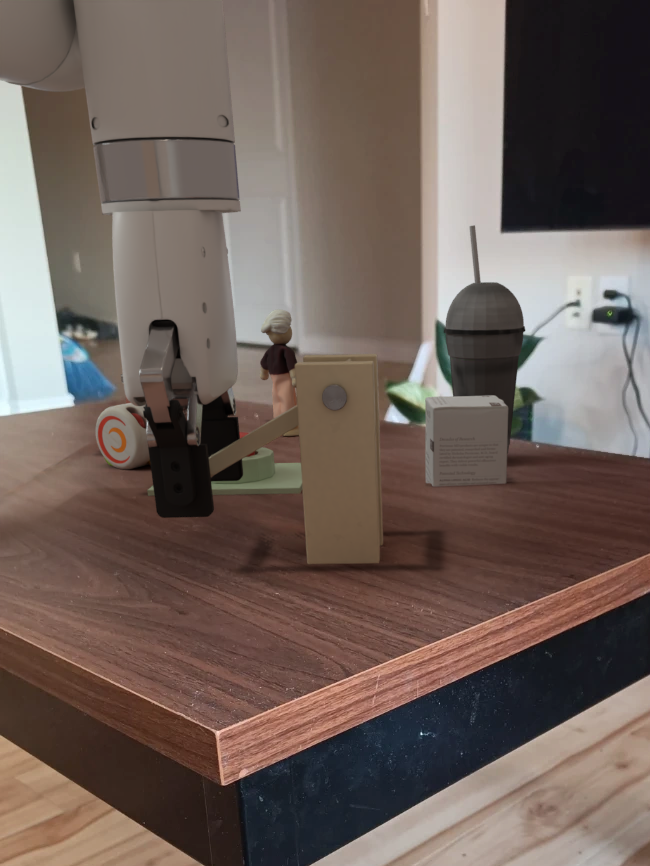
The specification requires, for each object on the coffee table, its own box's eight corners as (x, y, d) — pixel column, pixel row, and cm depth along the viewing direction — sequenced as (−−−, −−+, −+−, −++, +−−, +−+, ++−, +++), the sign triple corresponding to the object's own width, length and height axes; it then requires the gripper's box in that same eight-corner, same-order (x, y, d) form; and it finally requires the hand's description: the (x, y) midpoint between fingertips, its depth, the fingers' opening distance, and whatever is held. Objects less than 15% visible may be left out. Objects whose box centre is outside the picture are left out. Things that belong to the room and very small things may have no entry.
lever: (190, 505, 61) (167, 470, 60) (208, 487, 66) (186, 454, 65) (367, 403, 58) (345, 364, 57) (372, 391, 63) (352, 355, 62)
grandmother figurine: (322, 433, 112) (316, 309, 107) (297, 438, 110) (289, 311, 104) (275, 427, 117) (266, 307, 112) (249, 432, 115) (239, 309, 109)
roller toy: (129, 459, 101) (121, 398, 98) (178, 465, 98) (171, 402, 96) (96, 468, 98) (86, 405, 95) (145, 474, 95) (137, 409, 92)
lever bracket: (250, 592, 62) (230, 368, 56) (270, 555, 69) (254, 353, 64) (433, 590, 61) (431, 364, 56) (434, 553, 69) (432, 350, 63)
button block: (149, 511, 81) (144, 466, 80) (178, 484, 90) (173, 443, 89) (301, 509, 81) (298, 464, 79) (314, 482, 90) (312, 441, 88)
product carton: (424, 486, 87) (423, 396, 84) (495, 483, 88) (496, 393, 85) (432, 502, 82) (431, 406, 79) (508, 499, 82) (510, 403, 79)
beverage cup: (510, 471, 92) (516, 223, 84) (433, 467, 95) (431, 226, 86) (530, 455, 98) (537, 224, 90) (457, 452, 101) (457, 226, 92)
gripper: (142, 193, 64) (175, 470, 71) (46, 177, 48) (102, 534, 56) (261, 189, 64) (283, 467, 71) (204, 172, 48) (239, 531, 55)
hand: (203, 496), depth 63 cm, fingers open, 9 cm apart
